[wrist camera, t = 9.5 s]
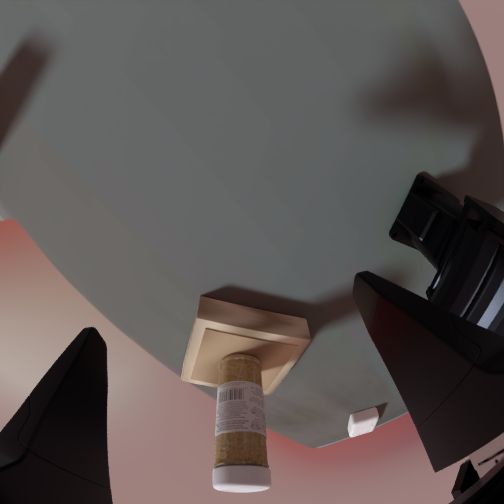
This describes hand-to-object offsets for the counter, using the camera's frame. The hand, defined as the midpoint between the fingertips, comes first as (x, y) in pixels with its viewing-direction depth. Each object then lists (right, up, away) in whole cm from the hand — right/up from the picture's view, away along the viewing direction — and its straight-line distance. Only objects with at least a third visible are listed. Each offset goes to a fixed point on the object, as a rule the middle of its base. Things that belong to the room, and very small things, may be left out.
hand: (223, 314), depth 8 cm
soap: (+23, -31, +36) cm, 53 cm away
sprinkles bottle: (0, -9, +18) cm, 20 cm away
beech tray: (0, -8, +21) cm, 22 cm away
